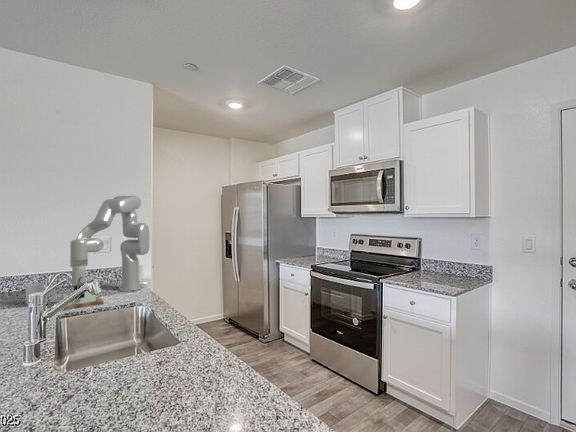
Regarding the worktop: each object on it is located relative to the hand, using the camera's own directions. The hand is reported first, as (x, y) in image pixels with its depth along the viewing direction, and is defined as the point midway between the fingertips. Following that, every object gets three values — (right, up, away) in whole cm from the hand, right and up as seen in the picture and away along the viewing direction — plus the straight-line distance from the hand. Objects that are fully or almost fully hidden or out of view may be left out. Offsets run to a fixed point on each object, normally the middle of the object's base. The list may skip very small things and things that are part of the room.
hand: (79, 296), depth 164 cm
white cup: (-27, -5, +5) cm, 28 cm away
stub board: (0, -5, 0) cm, 5 cm away
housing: (0, -3, 0) cm, 3 cm away
